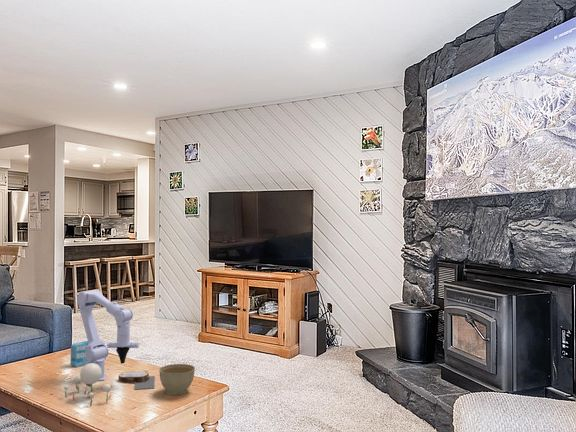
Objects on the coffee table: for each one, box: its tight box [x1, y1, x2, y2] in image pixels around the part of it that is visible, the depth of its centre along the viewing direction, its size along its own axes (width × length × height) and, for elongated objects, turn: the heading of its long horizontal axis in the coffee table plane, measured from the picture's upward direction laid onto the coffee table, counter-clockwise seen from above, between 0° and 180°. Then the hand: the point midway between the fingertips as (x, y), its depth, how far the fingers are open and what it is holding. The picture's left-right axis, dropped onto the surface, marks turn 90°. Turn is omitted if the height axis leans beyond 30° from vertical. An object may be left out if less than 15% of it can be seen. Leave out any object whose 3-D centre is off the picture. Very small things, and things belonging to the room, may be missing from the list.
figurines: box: [63, 363, 112, 407], centre depth 213 cm, size 25×12×15 cm, turn 57°
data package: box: [70, 340, 96, 368], centre depth 264 cm, size 12×4×12 cm, turn 143°
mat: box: [134, 375, 156, 391], centre depth 235 cm, size 9×18×1 cm, turn 15°
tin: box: [118, 371, 150, 383], centre depth 239 cm, size 15×3×8 cm
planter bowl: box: [158, 363, 196, 396], centre depth 223 cm, size 16×16×11 cm
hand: (122, 362), depth 232 cm, fingers closed
